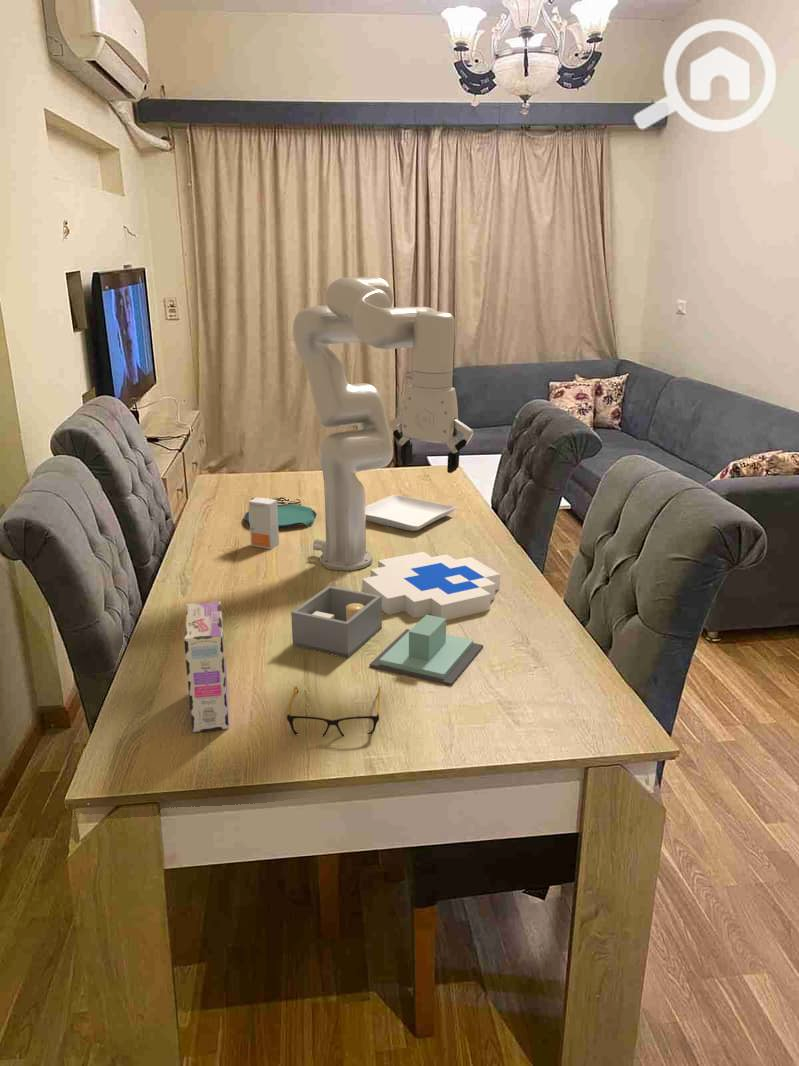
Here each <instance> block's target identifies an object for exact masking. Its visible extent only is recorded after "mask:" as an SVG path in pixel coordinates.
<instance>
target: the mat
mask: <svg viewBox="0 0 799 1066" xmlns="http://www.w3.org/2000/svg"><path fill="white" fill-rule="evenodd" d="M409 630H410V629H409V628H406V629H405V630H404V631H403V632H401V634H399V636H398V637H396V638H395V640H393V641H392V643H390V644H389V645H388V646H387V647H386V648H385V649H384V650H383V651H382V652H380V653H379V655H378V656H376V657H375V658H374V659H373V661H371V662H370V663H369V668H370V667H371V668H374V669H378V670H383V671H386V672H392V673H395V674H400V675H404V676H407V677H412V678H417V679H421V680H425V681H430V682H434V683H436V684H437V683H438V684H441V685H442V684H443V685H446V686H450V687H452V686H453V685H454V684H455V683H456V681H457V680H458V679H459V678H460V677H461V675H462V674H463V673H464V672H465V670H466V669H467V668H468V666H470V665H471V663H472V662H473V660H474V659H475V658H476V657H477V656H478V654H479V653H480V652H481V651H482V649H483V648H484V645H483V644H481V643H477V642H475V643H474V642H473V645H472V647H471V648H470V649H469V650H468V651H467V653H466V654H465V655H464V656H463V657H462V659H461V660H460V661H459V662H458V663H457V665H456V666H455V667H454V668H453V669H452V671H451V672H450V673H449V674H448V675H447V676H446V678H445V679H441V678H436V677H432V676H428V675H423V674H419V673H415V672H410V671H406V670H402V669H397V668H393V667H389V666H384V665H380V661H379V659H380V658H381V657H383V656H384V655H385V654H386V653H387V652H388V651H389V650H390V649H391V648H392V647H393V646H394V645H395V644H396V643H397V642H398V641H399V640H400V639H401V638H402V637H403V636H404V635H405V634H406V633H407V632H408V631H409Z"/></svg>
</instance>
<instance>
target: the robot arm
mask: <svg viewBox="0 0 799 1066" xmlns="http://www.w3.org/2000/svg"><path fill="white" fill-rule="evenodd" d="M324 296H325V297H324V299H325V303H326V305H315V306H309V307H306V308H304V309H301V310H300V311H298V312H297V314H296V315H295V317H294V320H293V324H292V325H293V326H292V335H293V341H294V346H295V348H296V352H297V354H298V355H299V358H300V359H301V362H302V364H303V366H304V368H305V370H306V375H307V377H308V382H309V383H308V384H309V387H310V392H311V394H312V399H313V404H314V410H315V412H316V416H317V418H318V419H317V420H318V421H319V423H320V424H321V425H322V426H323V427H326V428H343V427H349V426H350V427H351V426H360V427H361V429H353V430H346V431H339V432H334V433H331V434H329V435H326V436H325V437H323V438H322V440H321V442H320V444H319V448H318V454H319V461H320V465H321V470H322V471H321V472H322V477H323V486H324V488H323V489H324V514H325V518H324V519H325V522H324V523H325V540H323V539H318V538H315V539H314V541H313V546H312V548H313V550H315V551H320V552H322V554H321V555H320V557H319V563H320V564H321V566H324V567H325V568H326V569H330V570H334V571H355V570H361V569H364V568H366V567H368V566H370V565H371V564H372V563H373V554H372V553H370V552H369V551H367V537H366V536H367V535H366V534H367V533H366V529H367V528H366V527H367V525H366V523H367V522H366V521H367V520H366V513H365V506H366V492H365V486H364V485H363V483H362V482H361V481H360V480H359V479H358V477H357V476H356V474H357V473H359V472H363V471H369V470H371V471H372V470H376V469H381V468H385V467H386V466H388V465H389V464H390V463H391V462H392V459H393V457H394V446H393V440H392V437H391V431H392V435H393V436H394V438H395V439H396V441H398V445H400V461H401V465H402V466H404V467H407V466H408V465H410V464H411V463H412V462H413V443H412V442H411V441H412V440H415V441H423V442H429V443H438V444H445V445H446V446H447V448H448V449H449V452H448V453H447V471H446V472H447V473H448V474H452V473H454V472H455V471H456V470H458V468H459V467H460V451H461V450H462V449H463V448H464V447H466V446H467V445H468V444H469V442H470V440H471V439H472V437H473V435H474V430H473V429H472V428H470V427H469V426H467V425H466V424H465V423H463V422H461V421H460V420H459V408H458V398H457V393H456V388H455V387H453V375H454V374H453V373H454V372H453V371H454V350H455V348H454V347H455V346H454V345H455V330H456V329H455V328H456V327H455V325H456V319H455V318H454V316H453V315H452V314H451V313H450V312H445V311H438V310H435V309H433V308H431V307H429V306H428V307H427V306H399V307H398V306H397V307H396V306H395V307H392V306H393V302H394V295H393V291H392V288H391V286H390V284H389V283H388V282H387V281H386V280H385V279H383V278H381V277H377V276H355V277H354V276H353V277H351V276H350V277H349V276H348V277H341V278H338V279H335V280H334V281H332V282H331V283H330V284H329V286H327V289H326V291H325V294H324ZM361 342H363V343H365V344H367V345H369V346H371V347H372V348H376V349H379V350H392V349H405V348H408V349H409V348H412V369H411V370H409V371H406V373H405V377H406V378H407V379H410V380H411V383H410V384H409V385H408V386H407V389H406V393H405V398H404V403H403V411H402V415H400V416H398V417H396V418H393V419H391V420H389V421H388V418H387V417H388V416H387V414H386V409H385V405H384V404H385V403H384V401H383V398H382V395H381V393H380V392H379V390H378V389H377V387H375V386H374V385H372V384H370V383H364V382H362V383H361V382H360V383H353V384H352V383H351V384H350V383H349V382H348V380H347V377H346V372H345V368H344V365H343V363H342V361H341V360H340V358H339V357H338V356H337V355H336V354H335V352H334V351H332V350H331V349H330V348H329V347H328V346H327V345H335V344H337V345H338V344H349V343H350V344H351V343H353V344H354V343H355V344H356V343H361ZM400 424H401V427H400ZM389 427H390V428H391V431H390V428H389ZM458 432H460V433H461V434H462V438H461V440H459V439H458V438H457V436H458Z"/></svg>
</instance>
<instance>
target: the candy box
mask: <svg viewBox="0 0 799 1066" xmlns="http://www.w3.org/2000/svg"><path fill="white" fill-rule="evenodd" d="M222 611H223V610H222V602H221V601H219V600H218V601H206V602H205V601H204V602H196V603H194V602H193V603H186V612H185V614H186V616H185V626H184V640H183V641H184V642H183V643H184V651H185V666H186V677H187V689H188V698H189V699H188V700H189V709H190V710H189V711H190V720H191V731H192V733H199V732H206V731H207V732H208V731H217V730H218V731H219V730H227V728H228V729H229V728H230V721H229V720H230V719H229V718H230V717H229V693H228V678H227V676H228V675H227V666H226V665H227V664H226V654H225V653H226V652H225V637H224V636H225V635H224V624H223V623H224V622H223V612H222Z"/></svg>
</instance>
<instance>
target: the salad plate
mask: <svg viewBox="0 0 799 1066" xmlns="http://www.w3.org/2000/svg"><path fill="white" fill-rule="evenodd" d="M455 509H456V506H454V505H449V504H446V503H441V502H435V501H431V500H426V499H421V498H417V497H410V496H405V495H401V494H400V495H399V494H392V495H389V496H387V497H385V498H382V499H379V500H378V501H375V502H374V501H373V502H371V503H370V504H368V505H365V513H366V521H368V522H371V523H372V524H376V523H378V525H381V524H382V525H381V526H385V525H387V526H386V527H389V526H391V527H390V528H394V527H396V528H395V529H399V528H401V529H400V530H403V529H405V530H404V531H409V530H410V532H411V531H412V532H415V531H419V530H421V529H422V528H424V527H426V526H429V525H430V524H432V523H434V522H436V521H438V520H441V519H442V518H445V517H446V516H448V515H449V514H451V513H452V512H454V511H455Z"/></svg>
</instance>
